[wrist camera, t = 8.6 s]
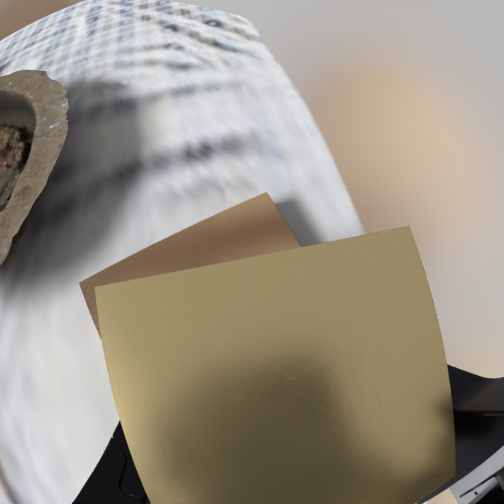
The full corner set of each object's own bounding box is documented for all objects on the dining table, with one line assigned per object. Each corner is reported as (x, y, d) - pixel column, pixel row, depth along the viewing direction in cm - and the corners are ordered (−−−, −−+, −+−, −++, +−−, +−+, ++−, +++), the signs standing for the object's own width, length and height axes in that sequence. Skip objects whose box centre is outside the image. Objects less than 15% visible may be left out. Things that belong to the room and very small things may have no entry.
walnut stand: (376, 408, 18) (393, 413, 16) (215, 501, 15) (216, 518, 13) (261, 207, 22) (266, 191, 20) (93, 290, 19) (79, 282, 16)
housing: (301, 401, 15) (455, 475, 3) (205, 425, 14) (189, 573, 2) (279, 309, 16) (408, 225, 5) (181, 330, 15) (94, 286, 4)
